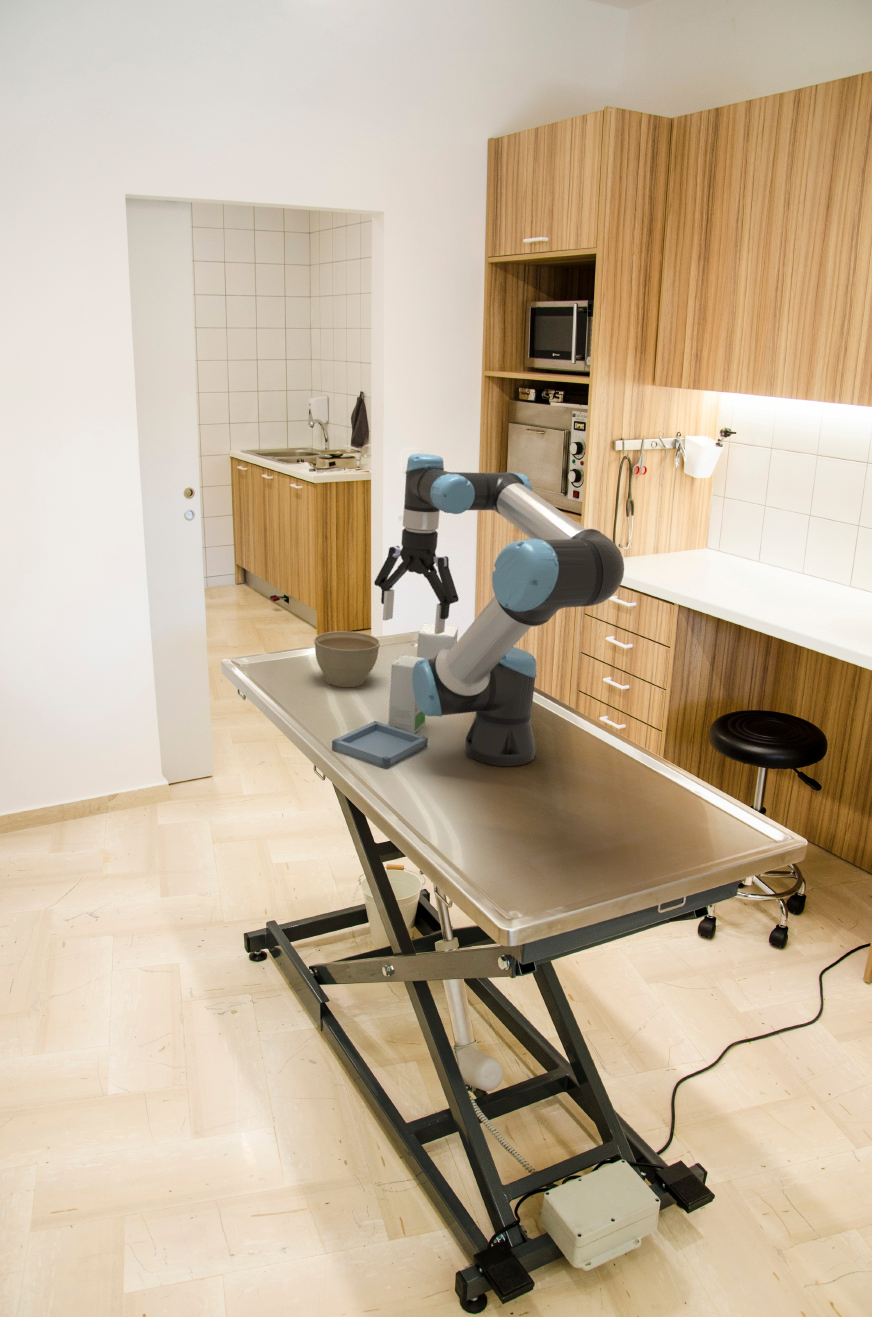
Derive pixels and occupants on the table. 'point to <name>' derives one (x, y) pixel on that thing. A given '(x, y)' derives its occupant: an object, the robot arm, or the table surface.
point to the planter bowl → (346, 656)
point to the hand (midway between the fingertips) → (413, 626)
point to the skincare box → (404, 697)
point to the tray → (379, 744)
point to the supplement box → (434, 640)
